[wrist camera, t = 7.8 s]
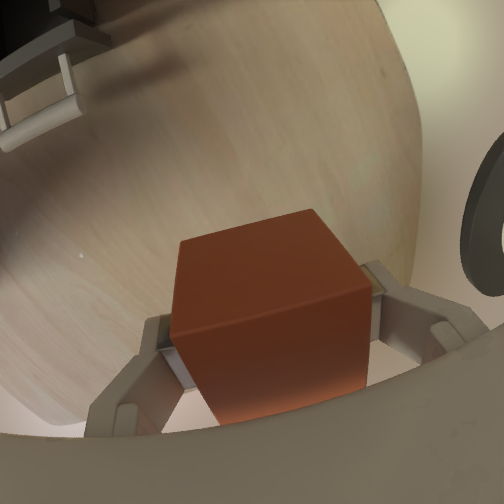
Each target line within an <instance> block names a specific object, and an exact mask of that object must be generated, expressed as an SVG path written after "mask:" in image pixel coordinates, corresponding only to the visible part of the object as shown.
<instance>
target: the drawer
mask: <svg viewBox="0 0 504 504" xmlns="http://www.w3.org/2000/svg"><path fill="white" fill-rule="evenodd" d="M96 24H98V23H97V17H96V12H95V7H94V1H93V0H0V128H1V131H2V133H1V134H0V148H1V149H2V150H3V151H4V152H10V151H11V150H13V149H15V148H17V147H18V146H20V145H22V144H24V143H26V142H28V141H30V140H31V139H33V138H35V137H37V136H39V135H41V134H43V133H45V132H47V131H49V130H51V129H53V128H55V127H58V126H60V125H62V124H64V123H66V122H68V121H71V120H73V119H75V118H77V117H80V116H82V115H84V114H85V113H86V111H87V105H86V101H85V98H84V96H83V95H82V94H81V93H79V92H77V88H76V83H75V79H74V75H73V71H72V66H73V65H75V64H77V63H79V62H82V61H84V60H86V59H88V58H91V57H93V56H95V55H98V54H100V53H102V52H105V51H107V50H110V49H112V48H113V45H112V41H111V36H110V35H108V34H106V33H104V32H102V31H100V30H97V29H95V28H93V27H92V26H94V25H96ZM60 71H61V73H62V77H63V81H64V85H65V89H66V93H67V96H69V97H67V98H65V99H62V100H60V101H58V102H56V103H54V104H52V105H50V106H48V107H46V108H44V109H42V110H41V111H39V112H37V113H35V114H33V115H31V116H29V117H28V118H26V119H24V120H22V121H21V122H19V123H17V124H15V125H14V126H12V127H11V126H10V122H9V118H8V115H7V111H6V107H5V102H4V101H8V100H11V99H12V98H14V97H15V96H17V95H19V94H20V93H22V92H24V91H25V90H27V89H29V88H31V87H32V86H34V85H36V84H38V83H39V82H41V81H43V80H45V79H47V78H49V77H51V76H53V75H55V74H57V73H58V72H60Z"/></svg>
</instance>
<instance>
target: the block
mask: <svg viewBox="0 0 504 504" xmlns="http://www.w3.org/2000/svg"><path fill="white" fill-rule="evenodd" d="M372 289H373V286H372V282H371V281H370V280H369V278H368V277H367V276H366V275H365V273H364V272H363V271H362V269H361V268H360V267H359V265H358V264H357V263H356V262H355V260H354V259H353V258H352V257H351V255H350V254H349V253H348V251H347V250H346V249H345V248H344V246H343V245H342V244H341V243H340V242H339V240H338V239H337V238H336V237H335V235H334V234H333V233H332V232H331V230H330V229H329V228H328V227H327V226H326V224H325V223H324V222H323V221H322V220H321V218H320V217H319V216H318V215H317V214H316V212H315V211H314V210H313V209H307V210H303V211H299V212H295V213H291V214H286V215H282V216H278V217H274V218H270V219H266V220H262V221H258V222H254V223H250V224H246V225H242V226H238V227H234V228H230V229H226V230H222V231H218V232H215V233H211V234H207V235H203V236H199V237H195V238H192V239H188V240H184V241H181V242H180V247H179V254H178V261H177V269H176V277H175V286H174V295H173V304H172V313H171V323H170V334H169V337H170V339H171V341H172V343H173V344H174V346H175V348H176V350H177V352H178V354H179V356H180V358H181V359H182V361H183V363H184V365H185V367H186V368H187V370H188V372H189V374H190V376H191V377H192V379H193V381H194V383H195V384H196V386H197V388H198V390H199V391H200V393H201V395H202V396H203V398H204V400H205V401H206V403H207V405H208V406H209V408H210V410H211V411H212V413H213V415H214V416H215V418H216V419H217V421H218V423H219V424H220V426H221V425H226V424H232V423H237V422H242V421H247V420H252V419H257V418H261V417H266V416H270V415H274V414H278V413H282V412H286V411H290V410H294V409H298V408H302V407H305V406H309V405H312V404H316V403H319V402H323V401H326V400H329V399H332V398H336V397H339V396H342V395H345V394H348V393H351V392H354V391H357V390H360V389H362V388H365V387H366V384H367V373H368V363H369V350H370V336H371V318H372Z"/></svg>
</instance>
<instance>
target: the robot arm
mask: <svg viewBox="0 0 504 504" xmlns="http://www.w3.org/2000/svg"><path fill="white" fill-rule="evenodd" d="M502 249H503V253H504V224H503V229H502ZM359 267H360V268H361V269H362V271H363V272H364V273H365V275H366V276H367V277H368V278H369V280H370V281H371V282H372V286H373V289H372V318H371V336H370V342H371V341H374V340H377V339H379V340H380V341H382V342H383V343H385V344H387V345H388V346H390V347H392V348H393V349H395V350H397V351H398V352H400V353H402V354H404V355H405V356H407V357H409V358H410V359H412V360H414V361H415V362H417V363H419V364H420V365H421V366H418V367H416V368H414V369H411V370H409V371H407V372H404V373H402V374H399V375H397V376H394V377H392V378H389V379H387V380H384V381H382V382H379V383H376V384H374V385H371V386H368V387H365V388H362V389H360V390H357V391H354V392H351V393H348V394H345V395H342V396H339V397H336V398H332V399H329V400H326V401H323V402H319V403H316V404H312V405H309V406H305V407H302V408H298V409H294V410H290V411H286V412H282V413H278V414H274V415H270V416H266V417H261V418H257V419H252V420H247V421H242V422H237V423H232V424H226V425H221V426H215V427H209V428H203V429H196V430H188V431H181V432H173V433H163V434H162V433H161V431H162V429H163V428H164V426H165V424H166V422H167V421H168V419H169V417H170V415H171V414H172V412H173V410H174V408H175V407H176V405H177V403H178V402H179V400H180V398H181V396H182V395H183V393H184V390H185V389H190V388H195V387H197V386H196V384H195V383H194V381H193V379H192V377H191V376H190V374H189V372H188V370H187V368H186V367H185V365H184V363H183V361H182V359H181V358H180V356H179V354H178V352H177V350H176V348H175V346H174V344H173V343H172V341H171V339H170V337H169V334H170V323H171V313H170V314H165V315H162V316H161V315H160V316H156V317H151V318H147V320H146V321H145V325H144V330H143V336H142V341H141V347H140V352H139V355H135V356H134V357H133V358H132V359H131V360H130V362H129V363H128V364H127V365H126V366H125V367H124V368H123V369H122V371H121V372H120V373H119V374H118V375H117V376H116V377H115V378H114V379H113V381H112V382H111V383H110V384H109V385H108V386H107V387H106V388H105V390H104V391H103V392H102V393H101V394H100V395H99V396H98V397H97V399H96V400H95V401H94V402H93V403H92V404H91V405H90V409H89V413H88V418H87V423H86V428H85V432H84V438H67V437H66V438H65V437H42V436H28V435H17V434H7V433H0V504H504V323H503V324H501V325H499V326H498V327H496V328H494V329H493V330H491V331H490V330H489V329H488V327H487V326H486V325H485V324H484V323H483V322H482V321H481V319H480V318H479V317H478V316H477V315H476V314H475V313H474V312H473V311H472V310H471V308H470V307H467V306H464V305H461V304H458V303H456V302H453V301H450V300H447V299H444V298H441V297H438V296H435V295H432V294H429V293H426V292H424V291H420V290H418V289H415V288H412V287H409V286H404V287H402V286H401V285H400V284H399V283H398V281H397V280H396V279H395V278H394V277H393V276H392V275H391V273H390V272H389V271H388V270H387V269H386V268H385V267H384V266H383V264H382V263H381V262H380V261H379V260H374V261H371V262H367V263H364V264H362V265H360V266H359Z"/></svg>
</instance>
